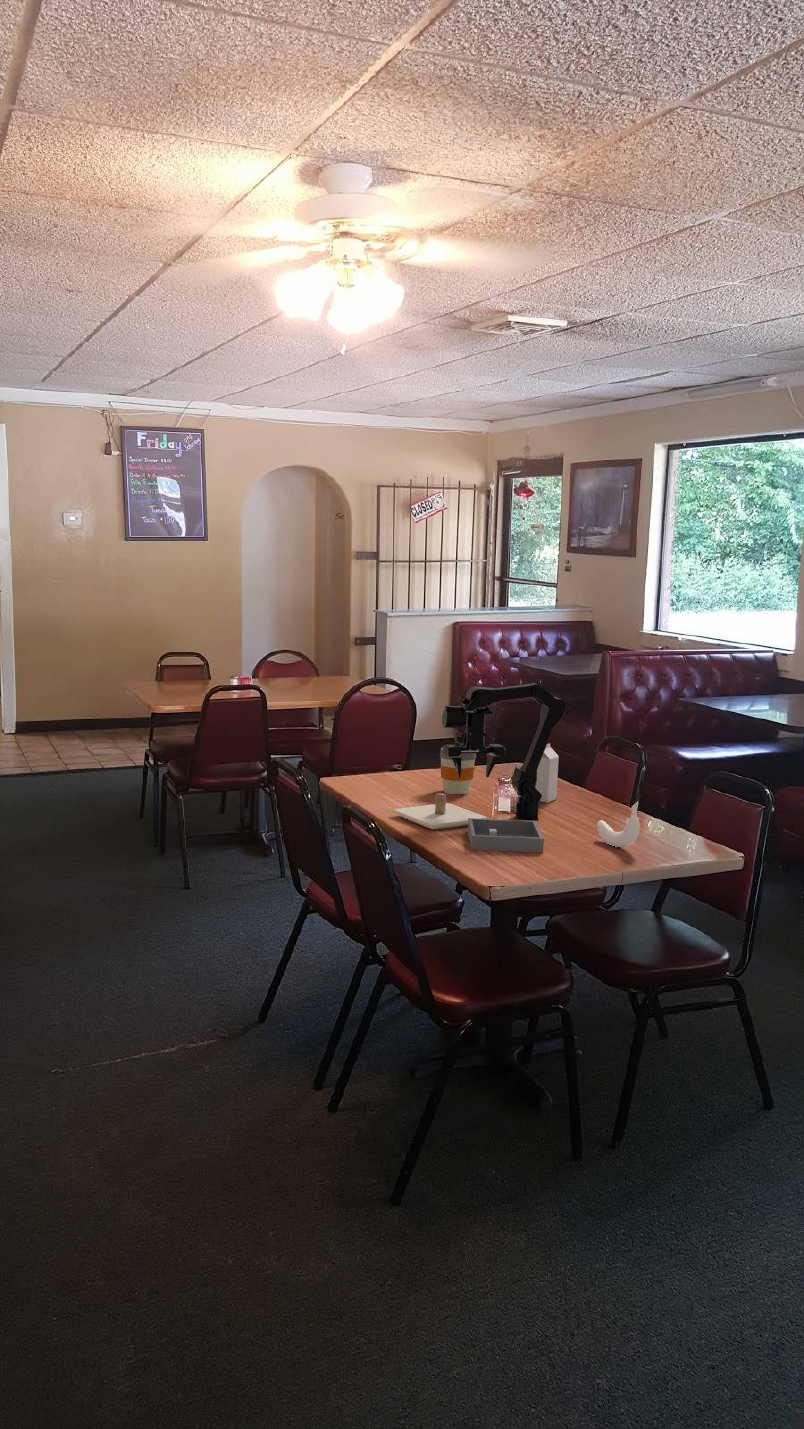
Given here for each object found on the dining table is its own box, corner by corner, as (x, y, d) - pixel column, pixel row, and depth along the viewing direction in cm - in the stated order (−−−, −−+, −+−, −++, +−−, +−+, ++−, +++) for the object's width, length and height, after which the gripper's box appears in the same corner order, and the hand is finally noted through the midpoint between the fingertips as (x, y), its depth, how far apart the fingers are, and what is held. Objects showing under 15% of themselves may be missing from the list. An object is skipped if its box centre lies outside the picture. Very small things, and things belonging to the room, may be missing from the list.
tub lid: (487, 824, 327) (488, 798, 326) (431, 832, 316) (432, 805, 314) (447, 809, 344) (448, 784, 343) (392, 816, 333) (393, 790, 331)
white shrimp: (601, 837, 318) (604, 789, 315) (643, 854, 301) (647, 803, 299) (587, 838, 315) (591, 790, 313) (629, 855, 299) (633, 804, 297)
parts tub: (534, 833, 318) (535, 820, 317) (543, 852, 298) (543, 838, 298) (467, 831, 318) (468, 818, 317) (471, 849, 298) (472, 835, 298)
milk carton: (556, 799, 365) (559, 744, 362) (547, 803, 359) (550, 747, 356) (537, 796, 368) (540, 742, 366) (528, 799, 362) (531, 744, 360)
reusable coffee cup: (440, 786, 377) (442, 745, 375) (475, 789, 376) (477, 747, 374) (436, 794, 365) (438, 751, 363) (473, 797, 364) (475, 753, 361)
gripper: (494, 723, 340) (492, 771, 342) (438, 723, 335) (436, 772, 337) (507, 729, 329) (504, 779, 332) (450, 729, 324) (447, 780, 326)
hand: (473, 777), depth 332 cm, fingers open, 9 cm apart
